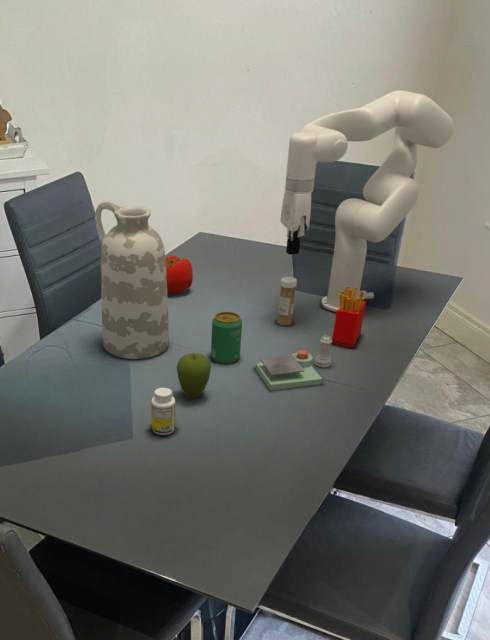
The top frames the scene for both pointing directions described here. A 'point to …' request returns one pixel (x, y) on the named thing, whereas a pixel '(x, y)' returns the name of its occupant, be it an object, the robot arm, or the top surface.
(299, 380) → the scale
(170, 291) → the tomato
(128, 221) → the vase
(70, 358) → the top surface
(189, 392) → the apple
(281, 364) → the scale pan
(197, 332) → the top surface
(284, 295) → the sprinkles bottle
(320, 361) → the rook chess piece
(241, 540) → the top surface
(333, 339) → the french fries container
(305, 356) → the tare button
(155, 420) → the supplement bottle
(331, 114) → the robot arm
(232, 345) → the beverage can
